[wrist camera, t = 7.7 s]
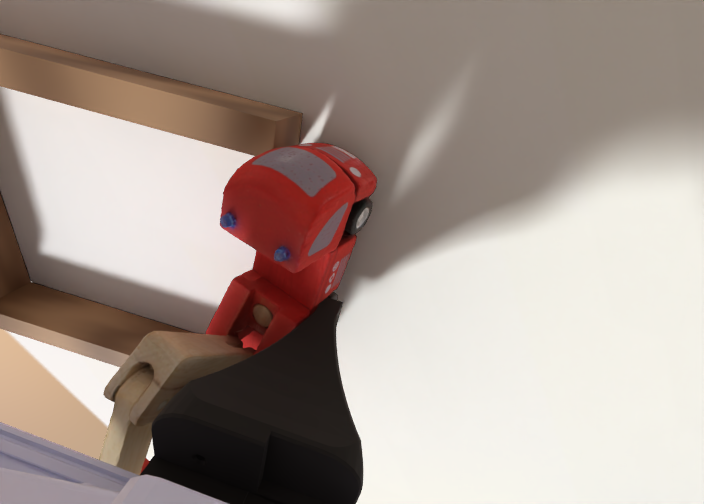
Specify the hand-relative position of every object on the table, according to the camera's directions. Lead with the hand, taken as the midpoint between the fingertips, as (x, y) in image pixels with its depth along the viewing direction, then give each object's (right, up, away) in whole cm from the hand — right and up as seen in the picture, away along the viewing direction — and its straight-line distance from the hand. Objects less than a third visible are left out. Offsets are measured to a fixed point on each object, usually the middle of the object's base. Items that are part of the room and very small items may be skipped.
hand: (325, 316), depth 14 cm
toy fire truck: (-1, +1, +2) cm, 2 cm away
